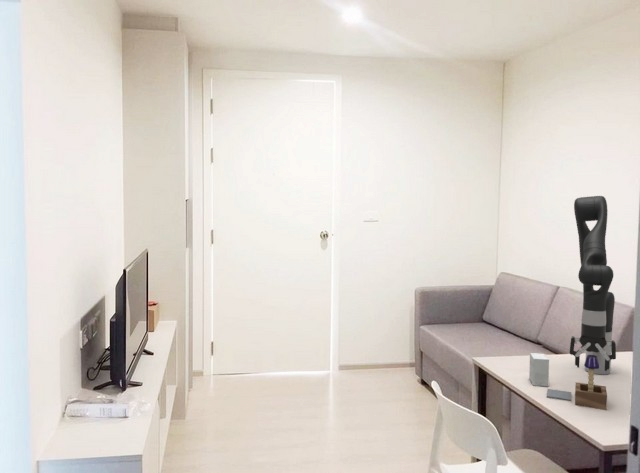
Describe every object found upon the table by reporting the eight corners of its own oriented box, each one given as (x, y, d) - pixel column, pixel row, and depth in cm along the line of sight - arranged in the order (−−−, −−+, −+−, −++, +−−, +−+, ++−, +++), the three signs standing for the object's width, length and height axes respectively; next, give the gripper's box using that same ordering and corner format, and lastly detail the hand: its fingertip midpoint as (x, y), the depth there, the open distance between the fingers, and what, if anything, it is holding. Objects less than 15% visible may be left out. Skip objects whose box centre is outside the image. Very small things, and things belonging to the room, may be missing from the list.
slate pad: (547, 390, 201) (547, 388, 201) (571, 393, 197) (571, 392, 197) (546, 397, 194) (546, 395, 193) (571, 401, 190) (571, 399, 190)
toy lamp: (579, 400, 191) (581, 353, 190) (592, 399, 192) (594, 353, 190) (587, 405, 186) (589, 357, 185) (600, 405, 187) (602, 357, 185)
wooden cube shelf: (575, 395, 195) (575, 382, 195) (605, 400, 191) (605, 386, 191) (574, 405, 187) (575, 390, 186) (606, 409, 183) (607, 395, 182)
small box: (548, 386, 204) (549, 359, 204) (532, 385, 205) (533, 358, 205) (544, 379, 212) (545, 353, 211) (528, 378, 213) (529, 352, 212)
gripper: (616, 322, 187) (614, 368, 188) (570, 318, 193) (569, 362, 194) (618, 327, 180) (615, 374, 182) (570, 322, 186) (568, 368, 188)
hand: (591, 368), depth 188 cm, fingers open, 8 cm apart
